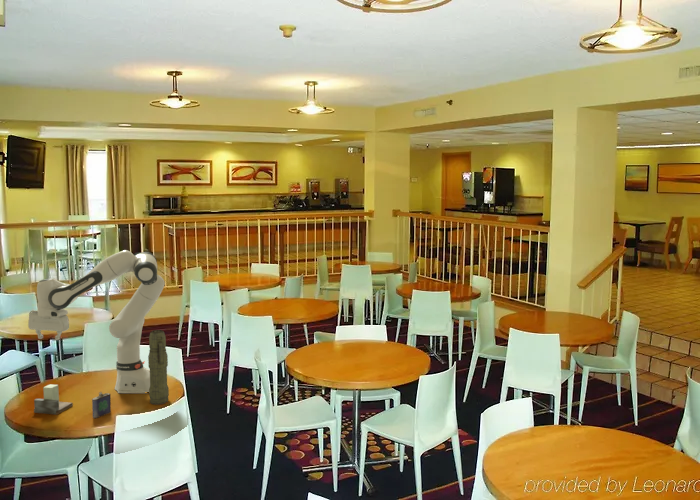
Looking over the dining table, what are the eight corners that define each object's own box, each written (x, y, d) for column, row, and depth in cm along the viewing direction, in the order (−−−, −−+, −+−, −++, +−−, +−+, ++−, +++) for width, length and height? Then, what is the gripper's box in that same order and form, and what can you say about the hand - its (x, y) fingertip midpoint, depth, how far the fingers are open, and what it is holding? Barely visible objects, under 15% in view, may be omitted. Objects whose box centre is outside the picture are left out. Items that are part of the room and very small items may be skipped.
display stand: (72, 405, 279) (72, 393, 278) (57, 414, 268) (56, 401, 268) (50, 403, 281) (49, 391, 281) (33, 412, 271) (33, 399, 270)
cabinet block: (59, 405, 275) (58, 384, 274) (52, 409, 271) (51, 388, 270) (50, 404, 276) (49, 384, 275) (44, 408, 272) (43, 387, 271)
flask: (95, 419, 264) (94, 396, 263) (90, 417, 265) (89, 394, 264) (112, 412, 272) (111, 389, 271) (108, 411, 273) (107, 388, 272)
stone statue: (155, 407, 279) (153, 334, 275) (145, 400, 287) (143, 330, 283) (173, 402, 285) (171, 331, 281) (162, 395, 293) (160, 327, 289)
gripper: (24, 311, 285) (25, 339, 287) (61, 313, 282) (63, 341, 283) (33, 308, 292) (35, 336, 293) (70, 310, 288) (71, 338, 289)
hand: (49, 339), depth 288 cm, fingers open, 8 cm apart
